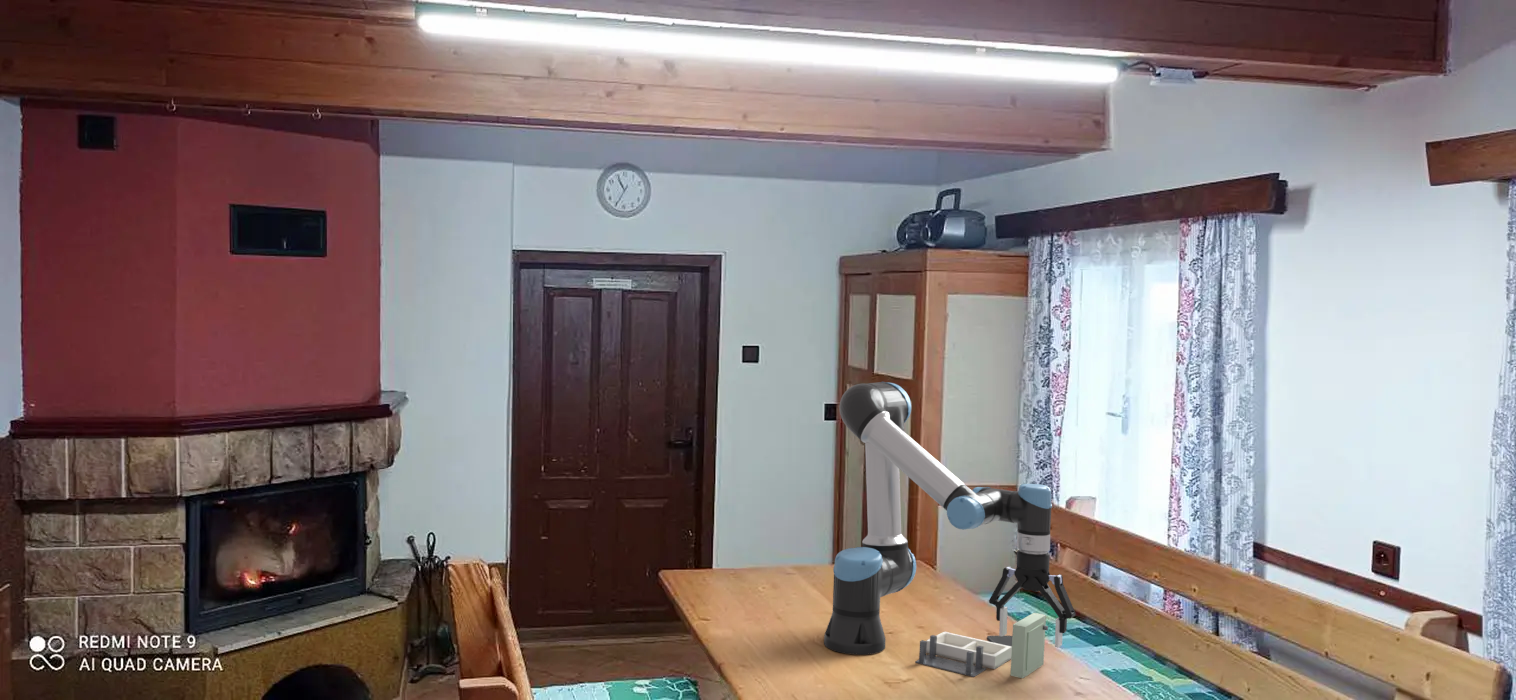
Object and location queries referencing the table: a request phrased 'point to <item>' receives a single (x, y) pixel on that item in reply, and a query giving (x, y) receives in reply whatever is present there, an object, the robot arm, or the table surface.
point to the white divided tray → (970, 649)
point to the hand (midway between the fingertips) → (1030, 640)
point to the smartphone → (1001, 640)
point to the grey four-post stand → (951, 664)
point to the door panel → (1028, 645)
